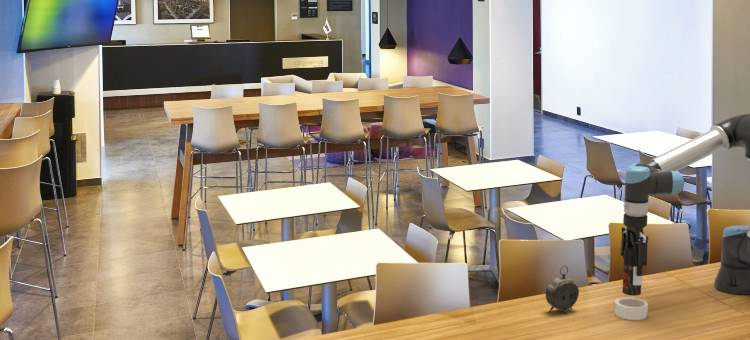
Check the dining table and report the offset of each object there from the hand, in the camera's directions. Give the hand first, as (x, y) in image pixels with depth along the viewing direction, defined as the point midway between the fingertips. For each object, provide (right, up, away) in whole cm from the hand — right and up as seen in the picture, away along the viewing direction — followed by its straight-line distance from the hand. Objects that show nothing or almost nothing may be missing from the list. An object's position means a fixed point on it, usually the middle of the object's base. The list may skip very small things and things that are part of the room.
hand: (632, 281), depth 291 cm
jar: (0, -11, +2) cm, 12 cm away
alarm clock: (-22, -11, +6) cm, 25 cm away
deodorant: (0, -4, +1) cm, 4 cm away
